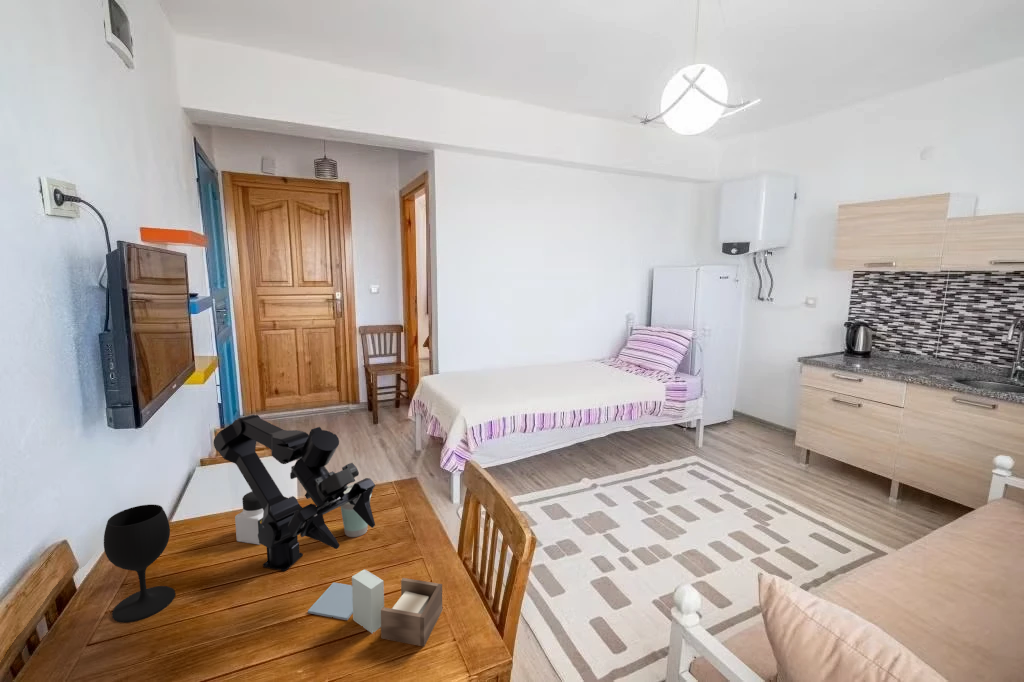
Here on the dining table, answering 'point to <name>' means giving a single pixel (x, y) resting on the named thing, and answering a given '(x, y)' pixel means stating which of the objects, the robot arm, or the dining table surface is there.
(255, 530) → the medicine bottle
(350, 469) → the robot arm
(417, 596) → the offcut stack
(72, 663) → the dining table surface
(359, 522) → the coffee cup
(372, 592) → the pale grey rectangular block
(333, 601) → the mat
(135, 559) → the wine glass
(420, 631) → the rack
